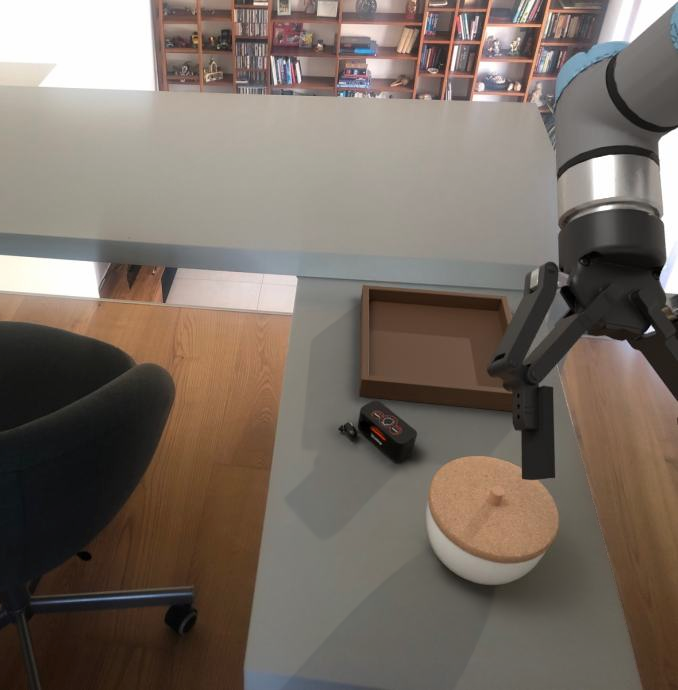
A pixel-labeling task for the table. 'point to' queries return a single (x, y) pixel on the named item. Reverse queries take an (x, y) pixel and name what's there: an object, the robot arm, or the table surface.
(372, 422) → the wireless earbuds
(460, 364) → the tray
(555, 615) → the table surface
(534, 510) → the trinket box
